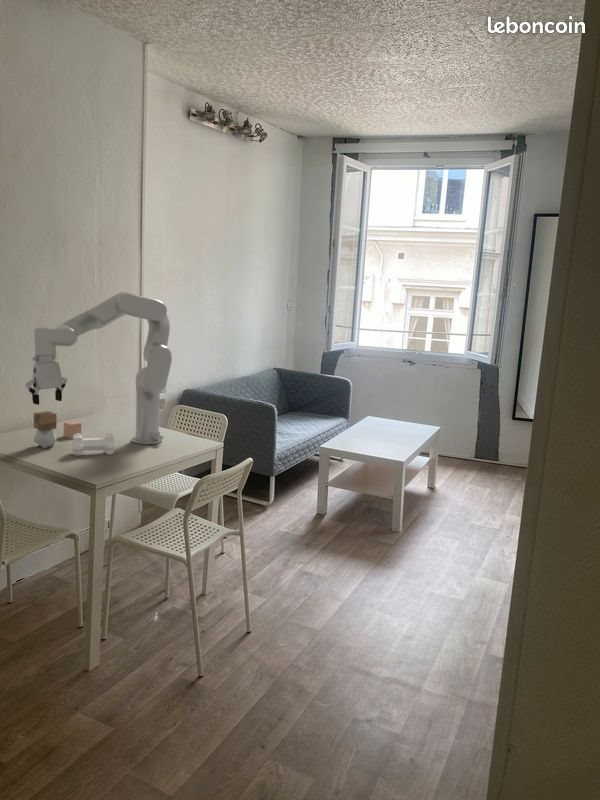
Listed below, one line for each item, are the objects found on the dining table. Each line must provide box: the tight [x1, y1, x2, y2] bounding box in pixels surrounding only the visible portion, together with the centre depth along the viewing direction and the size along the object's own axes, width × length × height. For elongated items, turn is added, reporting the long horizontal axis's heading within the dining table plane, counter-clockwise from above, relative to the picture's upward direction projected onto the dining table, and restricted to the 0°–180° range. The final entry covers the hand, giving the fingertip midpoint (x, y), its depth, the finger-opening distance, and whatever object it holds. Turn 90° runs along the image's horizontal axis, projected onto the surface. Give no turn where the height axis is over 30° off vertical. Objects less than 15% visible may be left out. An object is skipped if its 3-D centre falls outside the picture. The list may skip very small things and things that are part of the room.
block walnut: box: [33, 410, 57, 431], centre depth 245 cm, size 6×6×6 cm
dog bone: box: [72, 432, 116, 457], centre depth 242 cm, size 15×9×8 cm, turn 112°
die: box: [32, 429, 59, 449], centre depth 247 cm, size 8×9×10 cm
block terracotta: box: [63, 420, 82, 439], centre depth 265 cm, size 5×5×6 cm
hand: (47, 402), depth 245 cm, fingers open, 9 cm apart
